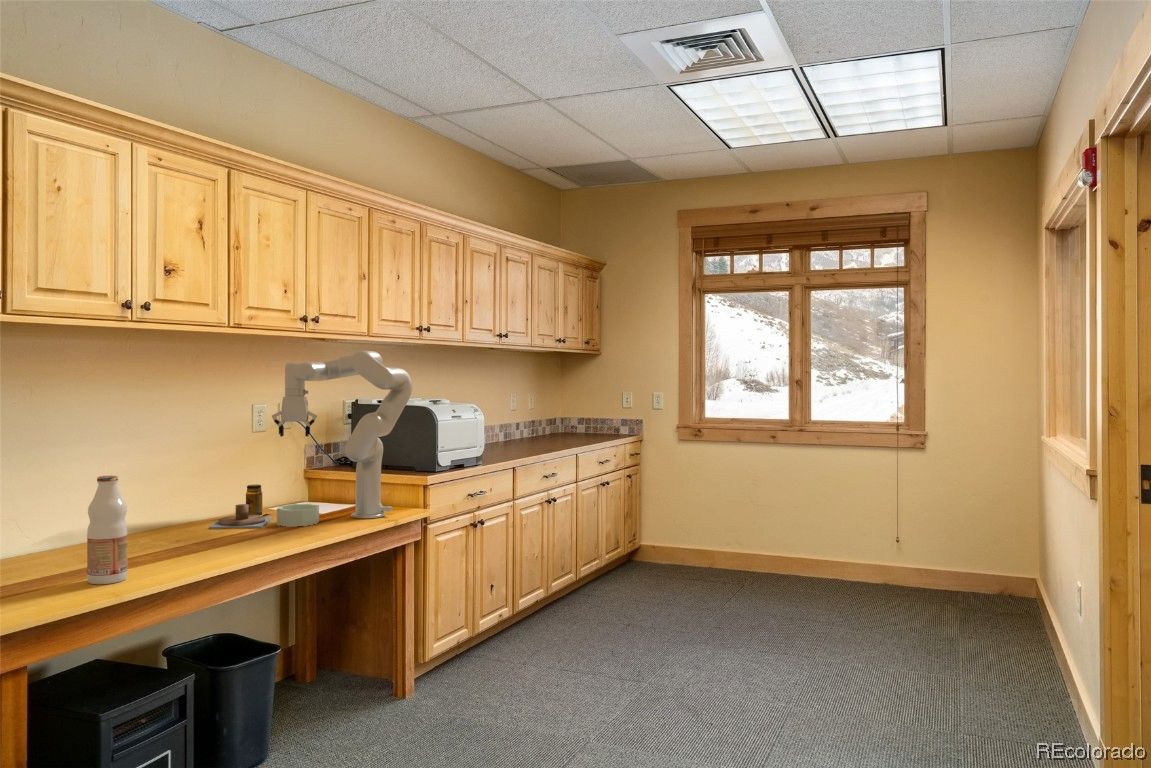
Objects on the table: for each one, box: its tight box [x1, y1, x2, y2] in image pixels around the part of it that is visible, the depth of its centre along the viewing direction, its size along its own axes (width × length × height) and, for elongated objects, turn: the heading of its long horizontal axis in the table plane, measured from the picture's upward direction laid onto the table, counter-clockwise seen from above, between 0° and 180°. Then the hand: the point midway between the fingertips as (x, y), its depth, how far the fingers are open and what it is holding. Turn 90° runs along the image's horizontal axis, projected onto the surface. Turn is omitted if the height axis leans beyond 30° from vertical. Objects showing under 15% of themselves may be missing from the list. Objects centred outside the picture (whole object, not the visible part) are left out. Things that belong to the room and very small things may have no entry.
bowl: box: [276, 503, 320, 528], centre depth 308 cm, size 14×14×6 cm
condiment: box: [245, 484, 263, 515], centre depth 323 cm, size 7×8×12 cm
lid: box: [217, 503, 266, 526], centre depth 305 cm, size 16×16×6 cm
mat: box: [208, 516, 273, 530], centre depth 305 cm, size 18×18×1 cm
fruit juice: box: [86, 475, 128, 585], centre depth 223 cm, size 9×9×28 cm
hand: (294, 436), depth 331 cm, fingers open, 9 cm apart
